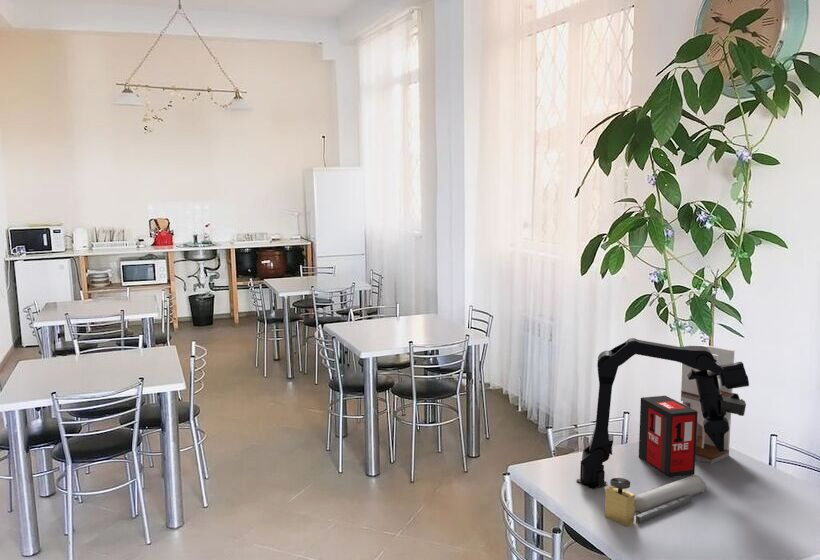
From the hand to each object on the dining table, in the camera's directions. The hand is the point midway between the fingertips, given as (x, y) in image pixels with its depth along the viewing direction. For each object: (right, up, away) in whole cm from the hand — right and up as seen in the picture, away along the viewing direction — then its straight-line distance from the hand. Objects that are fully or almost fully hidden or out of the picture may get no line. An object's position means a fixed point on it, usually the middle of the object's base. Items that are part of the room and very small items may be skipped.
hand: (720, 445), depth 195 cm
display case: (+9, -11, +33) cm, 36 cm away
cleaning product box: (-7, -12, +24) cm, 28 cm away
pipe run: (-23, -16, -5) cm, 28 cm away
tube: (-15, -16, -1) cm, 22 cm away
